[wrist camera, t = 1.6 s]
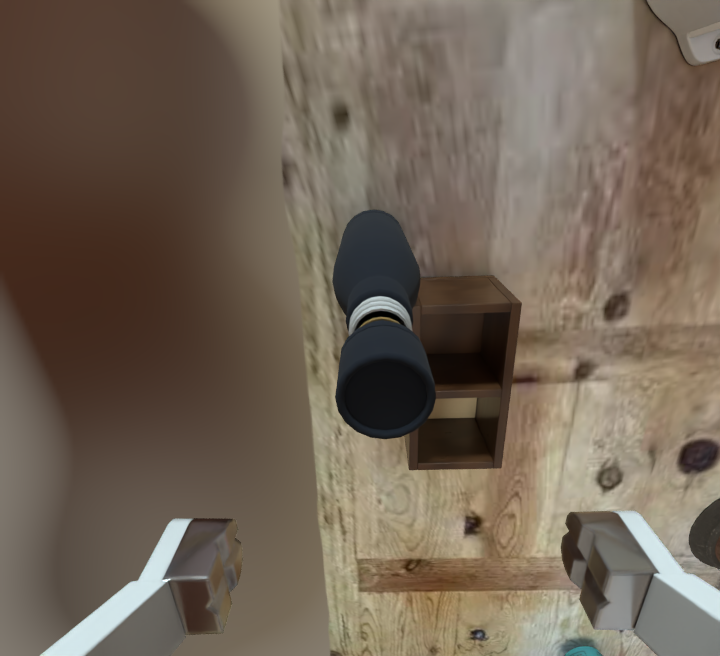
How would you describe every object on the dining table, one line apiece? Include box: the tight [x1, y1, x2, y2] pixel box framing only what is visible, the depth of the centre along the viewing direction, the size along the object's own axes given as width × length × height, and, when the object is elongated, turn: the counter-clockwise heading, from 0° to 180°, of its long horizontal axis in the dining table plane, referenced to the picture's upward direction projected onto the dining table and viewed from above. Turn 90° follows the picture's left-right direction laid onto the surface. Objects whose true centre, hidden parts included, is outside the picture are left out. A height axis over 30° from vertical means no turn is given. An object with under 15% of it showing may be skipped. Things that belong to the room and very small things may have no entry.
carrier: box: [404, 275, 522, 470], centre depth 44 cm, size 10×19×9 cm, turn 2°
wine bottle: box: [333, 210, 436, 439], centre depth 29 cm, size 6×6×30 cm
